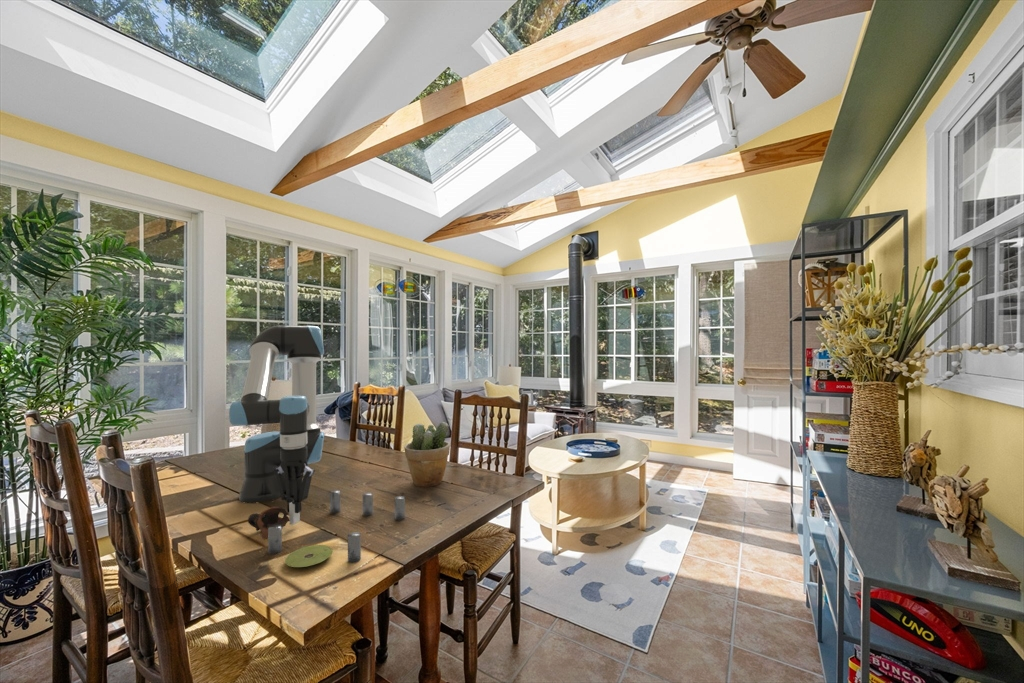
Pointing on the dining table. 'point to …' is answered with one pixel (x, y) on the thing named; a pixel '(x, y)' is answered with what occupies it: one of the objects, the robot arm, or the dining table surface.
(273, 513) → the pottery mug
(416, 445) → the potted plant
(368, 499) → the posts
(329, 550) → the green disc
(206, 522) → the dining table surface
